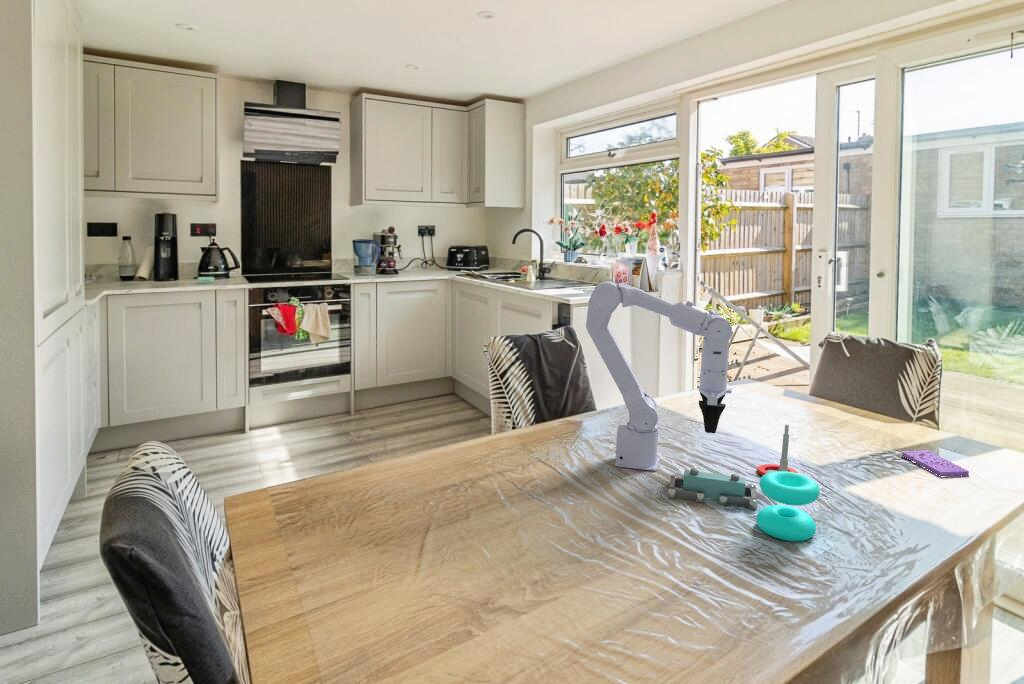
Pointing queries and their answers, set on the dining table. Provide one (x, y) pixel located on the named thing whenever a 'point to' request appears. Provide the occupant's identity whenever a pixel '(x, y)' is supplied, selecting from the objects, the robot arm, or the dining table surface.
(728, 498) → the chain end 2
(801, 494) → the donuts
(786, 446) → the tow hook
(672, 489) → the chain end
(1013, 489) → the dining table surface
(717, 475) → the teal studded beam
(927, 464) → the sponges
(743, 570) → the dining table surface
